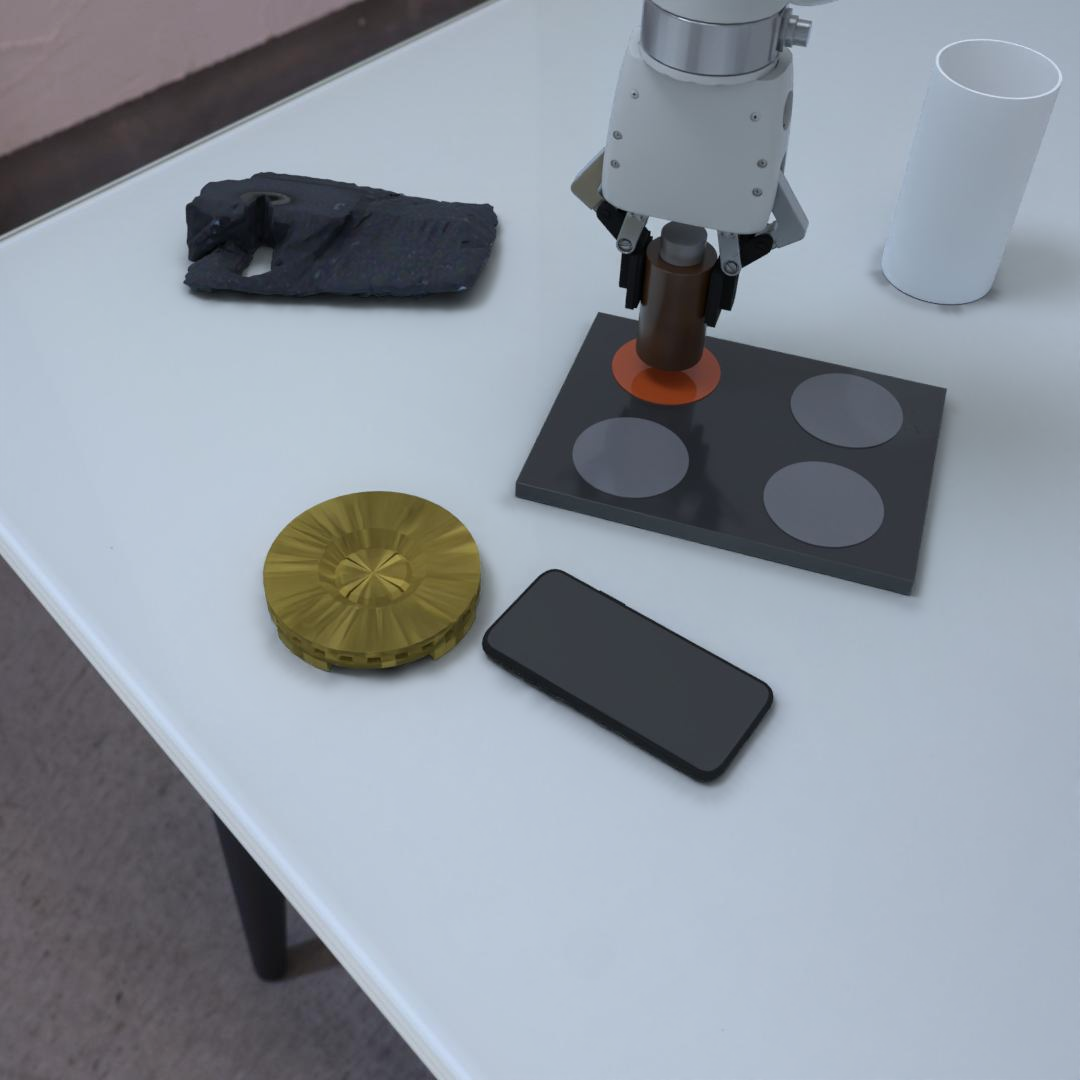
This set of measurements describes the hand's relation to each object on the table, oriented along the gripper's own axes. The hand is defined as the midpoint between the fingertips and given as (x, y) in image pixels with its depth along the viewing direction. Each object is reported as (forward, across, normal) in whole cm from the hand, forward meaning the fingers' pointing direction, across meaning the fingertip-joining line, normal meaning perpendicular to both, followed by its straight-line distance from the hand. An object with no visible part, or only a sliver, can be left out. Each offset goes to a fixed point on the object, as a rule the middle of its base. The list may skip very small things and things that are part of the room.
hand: (675, 303), depth 83 cm
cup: (+7, -16, -20) cm, 26 cm away
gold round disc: (+7, +11, +24) cm, 27 cm away
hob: (+7, -6, +4) cm, 10 cm away
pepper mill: (+4, 0, 0) cm, 4 cm away
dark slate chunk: (+7, +26, -6) cm, 28 cm away
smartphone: (+7, -4, +24) cm, 26 cm away
